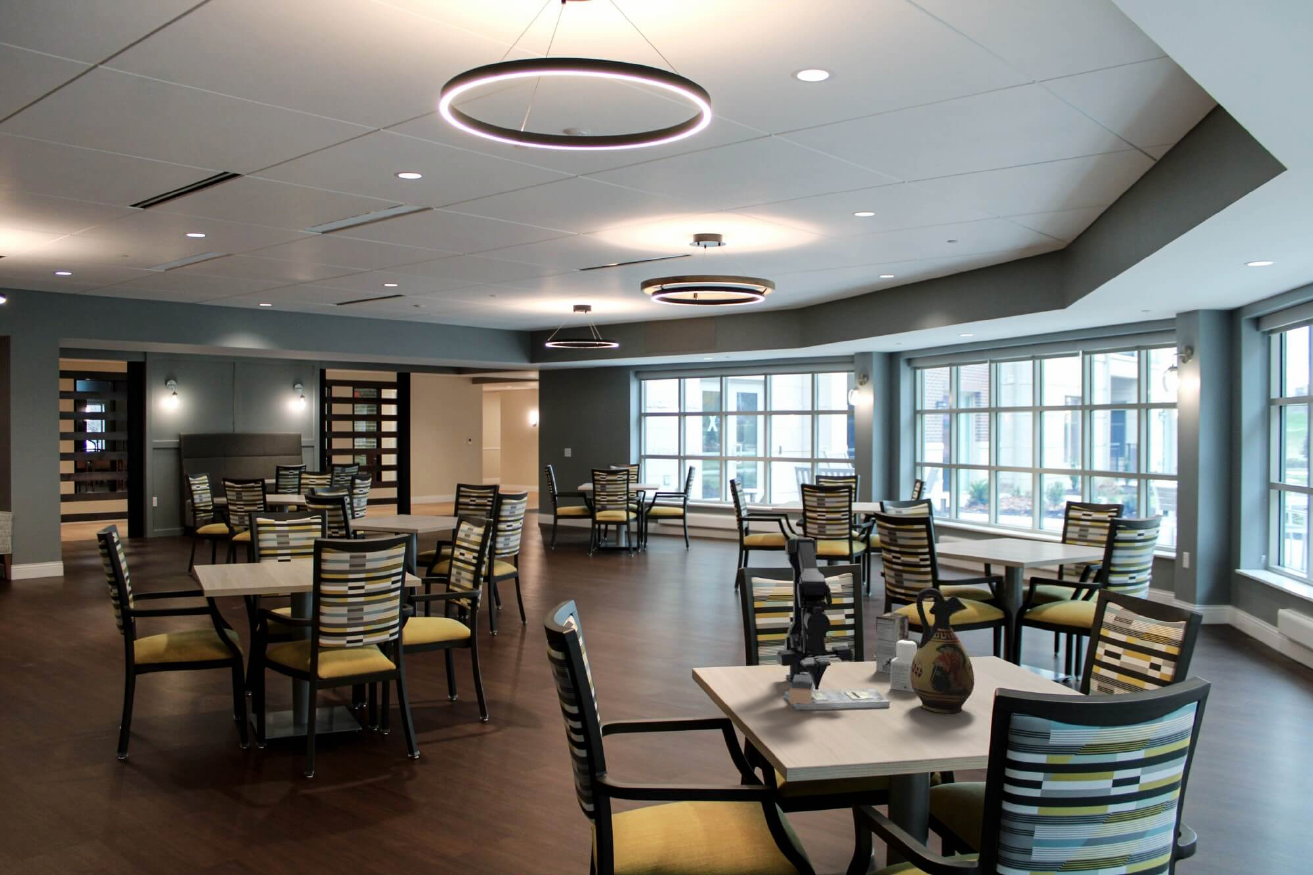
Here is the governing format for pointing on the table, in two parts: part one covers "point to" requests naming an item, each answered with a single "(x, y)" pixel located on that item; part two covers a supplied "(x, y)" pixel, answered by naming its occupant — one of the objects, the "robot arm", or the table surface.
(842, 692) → the panel
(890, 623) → the coffee box
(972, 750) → the table surface
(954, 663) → the ceramic jug
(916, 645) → the container
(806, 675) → the swing bar
